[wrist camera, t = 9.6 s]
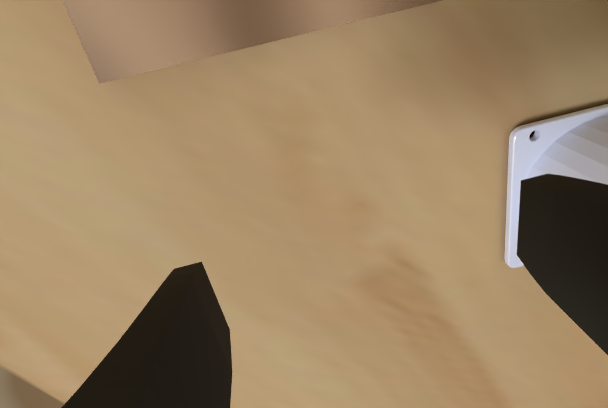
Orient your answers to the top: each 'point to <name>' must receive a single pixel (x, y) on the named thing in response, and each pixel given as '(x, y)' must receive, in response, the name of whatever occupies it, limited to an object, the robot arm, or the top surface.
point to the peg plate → (201, 27)
